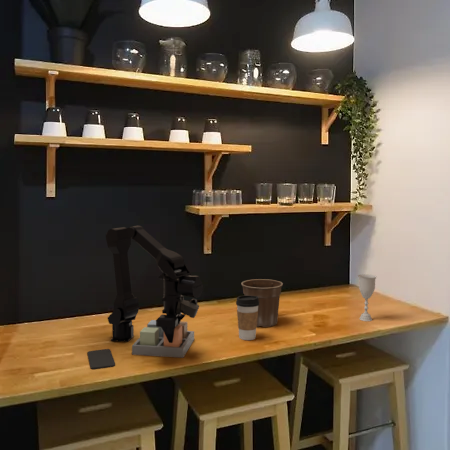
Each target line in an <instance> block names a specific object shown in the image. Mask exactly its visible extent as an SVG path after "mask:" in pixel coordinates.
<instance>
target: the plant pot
mask: <svg viewBox="0 0 450 450" xmlns="http://www.w3.org/2000/svg"><path fill="white" fill-rule="evenodd" d="M283 284H284V283H283V282H282V281H279V280H275V279H268V278H267V279H266V278H264V279H262V278H258V279H257V278H256V279H254V278H253V279H247V280H243V281H242V282H241V286H242V292H243V294H244V295H249V296H258V298H259V305H258V318H257V327H256V328H259V327H264V328H268V327H270V328H271V327H274V326H276V325H277V324H278V318H279V308H280V297H281V294H282V287H283ZM244 295H243V296H244Z"/></svg>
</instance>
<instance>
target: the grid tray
mask: <svg viewBox="0 0 450 450" xmlns="http://www.w3.org/2000/svg"><path fill="white" fill-rule="evenodd" d="M156 320H157V319H151V320H150V321H149V322H148V323H147V324H146V326H144V327H142V329H141V330H140V331H139V338H138V339H136V341H135V342H134V343H133V344H132V345H131V355H132V356H133V355H134V356H135V355H136V356H147V357H164V358H165V357H168V358H184V357H185V356H186V354H187V352H188V351H189V349H190V347H191V346H192V344H193V342H194V341H195V331H193V330H188V321H182V320H181V321H180V325H182V343H181V345H180V346H179V347H168V346H164V331H163V330H162V328H161V327H157V326H156Z"/></svg>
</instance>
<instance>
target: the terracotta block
mask: <svg viewBox="0 0 450 450" xmlns="http://www.w3.org/2000/svg"><path fill="white" fill-rule="evenodd" d="M181 343H182V325H178V326H177V327H175V331H174V337H173V342H172V343H169V341H168V339H167V337H166V335H165V333H164V346H168V347H179V346H180V345H181Z"/></svg>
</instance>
